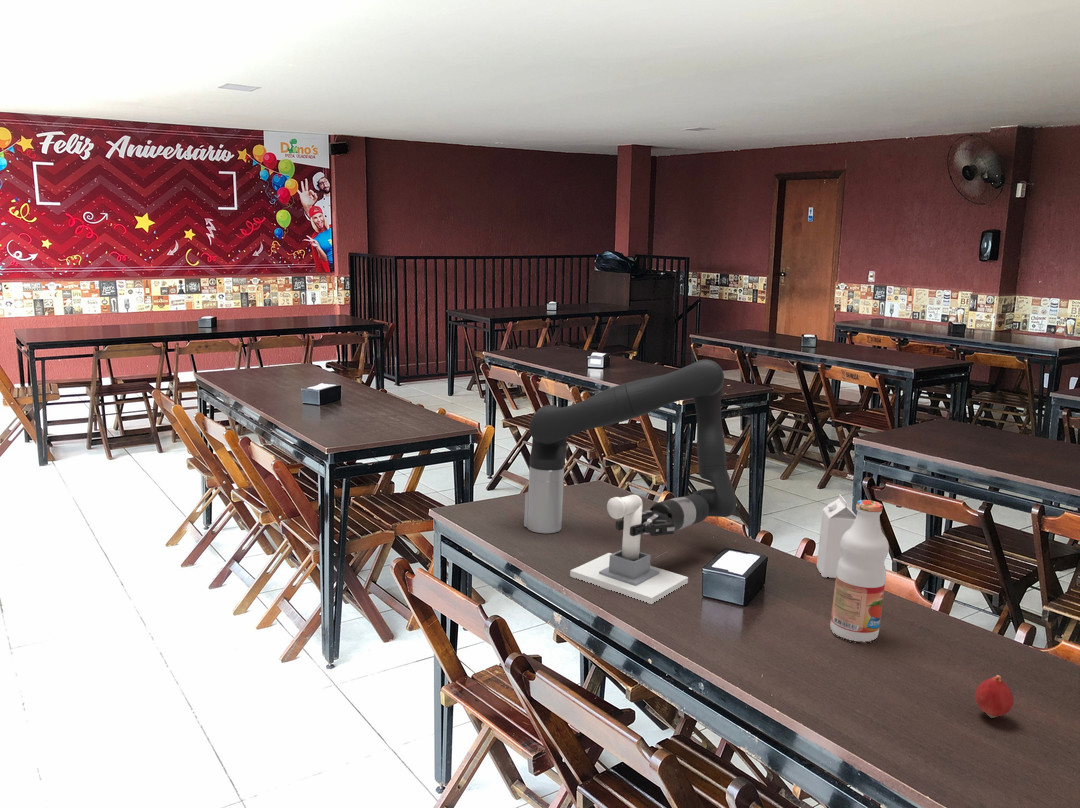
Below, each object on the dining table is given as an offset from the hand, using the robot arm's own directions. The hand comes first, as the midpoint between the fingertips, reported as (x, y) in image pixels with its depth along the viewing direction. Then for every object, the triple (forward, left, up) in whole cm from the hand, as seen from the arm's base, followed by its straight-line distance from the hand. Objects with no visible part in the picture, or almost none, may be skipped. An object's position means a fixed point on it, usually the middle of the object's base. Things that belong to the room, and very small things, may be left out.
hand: (624, 528), depth 197 cm
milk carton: (+34, +42, -13) cm, 56 cm away
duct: (0, +3, -13) cm, 13 cm away
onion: (+78, -4, -13) cm, 80 cm away
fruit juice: (+49, +12, -13) cm, 53 cm away
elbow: (0, +1, -8) cm, 8 cm away
